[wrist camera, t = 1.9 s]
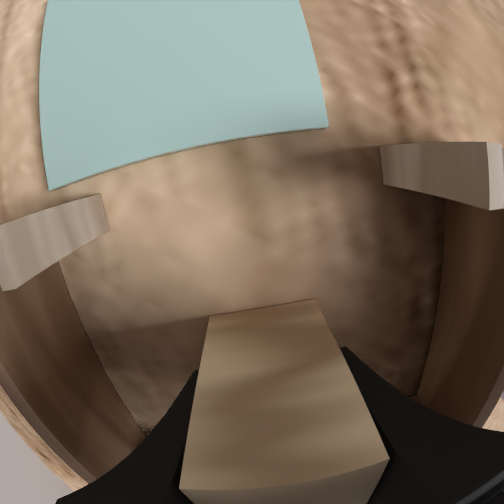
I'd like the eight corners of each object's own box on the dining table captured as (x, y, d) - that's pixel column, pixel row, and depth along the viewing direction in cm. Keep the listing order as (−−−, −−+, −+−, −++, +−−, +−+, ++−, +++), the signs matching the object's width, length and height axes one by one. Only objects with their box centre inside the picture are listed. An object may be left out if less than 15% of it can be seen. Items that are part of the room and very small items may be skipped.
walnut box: (459, 145, 8) (556, 153, 4) (428, 400, 13) (463, 457, 8) (27, 219, 9) (-62, 257, 4) (137, 446, 13) (119, 510, 8)
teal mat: (269, -65, 5) (270, -72, 5) (324, 129, 8) (329, 127, 8) (55, -3, 6) (49, -8, 5) (57, 189, 9) (48, 191, 8)
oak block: (315, 298, 10) (389, 458, 4) (319, 374, 11) (361, 511, 5) (210, 315, 10) (178, 488, 4) (231, 388, 12) (226, 531, 5)
